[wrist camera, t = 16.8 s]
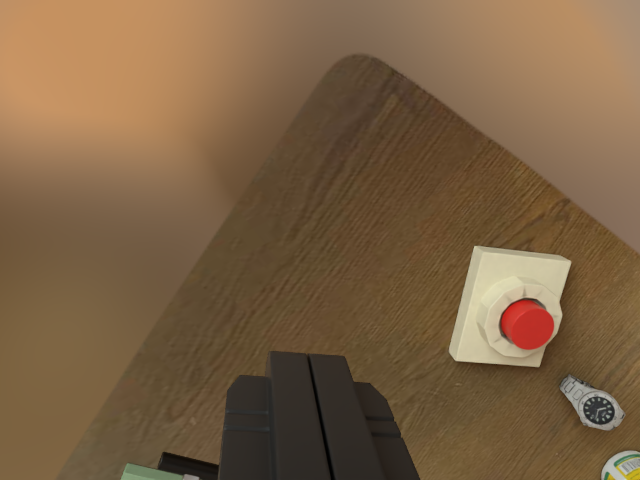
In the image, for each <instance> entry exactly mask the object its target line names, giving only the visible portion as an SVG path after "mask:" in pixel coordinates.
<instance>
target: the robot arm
mask: <svg viewBox="0 0 640 480" xmlns="http://www.w3.org/2000/svg"><path fill="white" fill-rule="evenodd" d="M218 480H420V478H419V475H418V473H417V471H416V468H415V466H414V464H413V461H412V459H411V456H410V454H409V452H408V449H407V447H406V445H405V442H404V440H403V438H401V433H400V431H399V428H398V426H397V424H396V422H394V416H393V414H392V412H391V409H390V407H389V405H388V402H387V400H386V399H385V398H384V397H383V396H382V395H381V394H380V393H379V392H378V391H377V390H376V389H375V388H374V387H373V386H372V385H371V384H370V383H363V382H354V381H353V378H352V376H351V373H350V370H349V367H348V364H347V361H346V358H345V357H344V356H337V355H323V354H309V353H308V354H307V355H306V354H305V353H293V352H278V351H269V353H268V357H267V363H266V371H265V377H264V376H248V375H240V376H239V377H238V378H237V379H236V381H235V382H234V383H233V384H232V386H231V387H230V388H229V389H228V390H227V399H226V408H225V417H224V426H223V435H222V444H221V453H220V462H219V472H218Z"/></svg>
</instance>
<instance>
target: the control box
mask: <svg viewBox="0 0 640 480" xmlns="http://www.w3.org/2000/svg"><path fill="white" fill-rule="evenodd" d="M570 265H571V261H569V260H567V259H566V258H564V257H562V256H560V255H552V254H543V253H534V252H526V251H517V250H508V249H499V248H491V247H482V246H474V250H473V254H472V258H471V262H470V266H469V270H468V274H467V278H466V282H465V286H464V290H463V295H462V299H461V303H460V307H459V311H458V315H457V319H456V323H455V327H454V331H453V335H452V339H451V343H450V347H449V353H450V354H451V355H452V357H453V358H454V359H455V361H462V362H476V363H490V364H504V365H518V366H531V367H540V364H541V360H542V357H543V354H544V351H545V347H546V345H547V344H548V343H549V342H550V341H551V340H552V339H553V337H554V336H555V335H556V334H557V332H558V328H559V325H560V322H561V319H562V311H561V307H560V303H559V301H560V298H561V295H562V292H563V288H564V285H565V282H566V278H567V275H568V272H569V269H570ZM521 300H530V301H533V302H535V303H537V304H538V305H539V306H541V307H542V308H543V309H545V310H546V311H547V312H549V313H550V315H551V316H552V318H553V320H554V330H553V333H552V336H551V337H550V339H549V340H548V341H547V342H546V343H545V344H544V345H542V346H541V347H539V348H536V349H532V350H525V349H521V348H519V347H517V346H516V345H515V344H514V343H513V342H512V341H511V340H510V339H509V338H508V337H507V336H506V335H505V334H504V333H503V331H502V327H501V320H502V316H503V314H504V312H505V311H506V309H507V308H508V307H509V306H511V305H512V304H513V303H515V302H518V301H521Z"/></svg>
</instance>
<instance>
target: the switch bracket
mask: <svg viewBox="0 0 640 480" xmlns="http://www.w3.org/2000/svg"><path fill="white" fill-rule="evenodd" d="M181 479H182V476H181V475H177V474H173V473H168V472H164V471H160V470H156V469H151V468H147V467H143V466H138V465H134V464H130V463H127V464H126V467H125V470H124V472H123V475H122V478H121V480H181Z"/></svg>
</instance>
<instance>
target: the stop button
mask: <svg viewBox="0 0 640 480" xmlns="http://www.w3.org/2000/svg"><path fill="white" fill-rule="evenodd" d="M501 327H502V331H503V333H504V334H505V335H506V336H507V337H508V338H509V339H510V340H511V341H512V342H513V343H514V344H515V345H516V346H517V347H519V348H521V349H525V350H532V349H536V348H539V347H541V346H542V345H544V344H545V343H546V342H547V341H548V340H549V339H550V337H551V336H552V333H553V330H554V320H553V318H552V316H551V315H550V313H549V312H547V311H546V310H545V309H543V308H542V307H541V306H539V305H538V304H537V303H535V302H533V301H530V300H521V301H518V302H515V303H513V304H512V305H511V306H509V307H508V308H507V309H506V311H505V312H504V314H503V316H502V320H501Z"/></svg>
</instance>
